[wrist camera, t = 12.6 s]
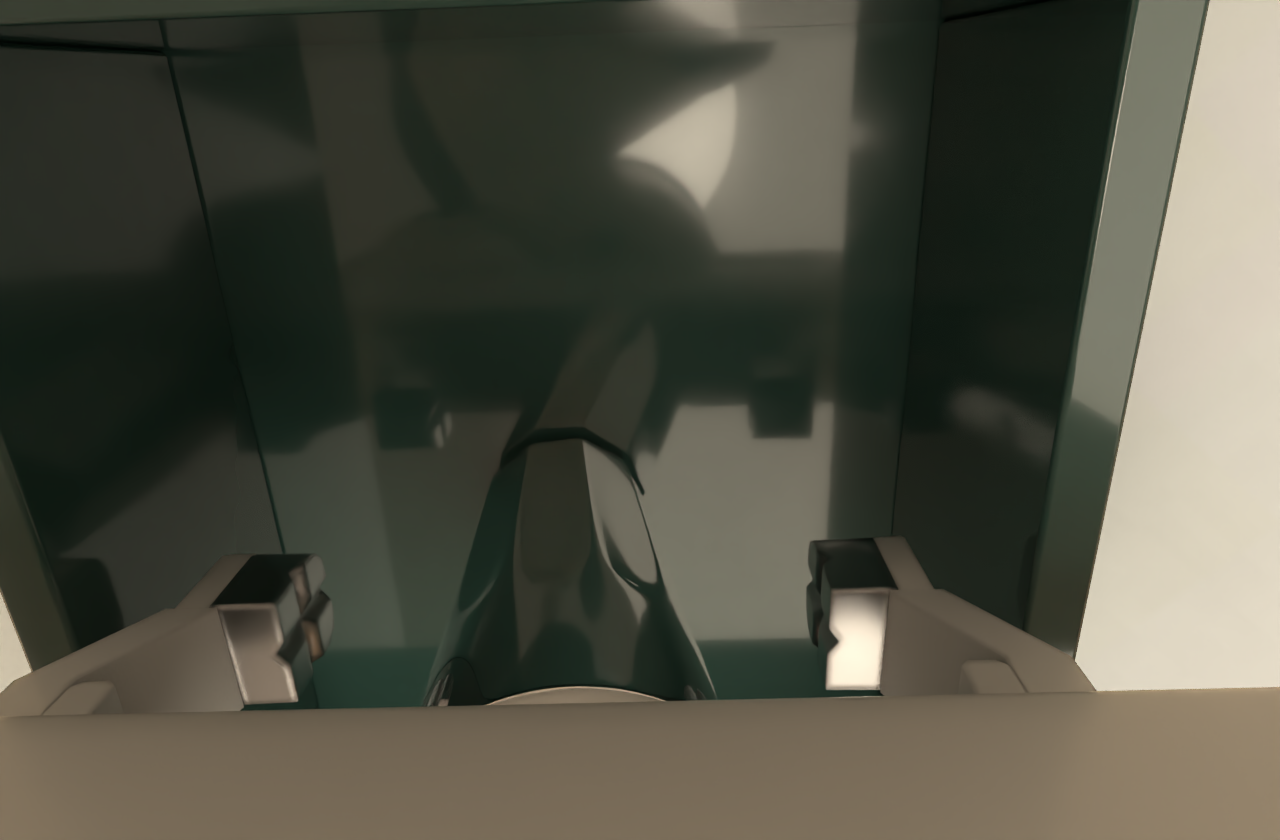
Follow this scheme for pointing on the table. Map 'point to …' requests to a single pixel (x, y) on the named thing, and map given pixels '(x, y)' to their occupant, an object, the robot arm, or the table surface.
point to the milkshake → (566, 593)
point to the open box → (571, 298)
